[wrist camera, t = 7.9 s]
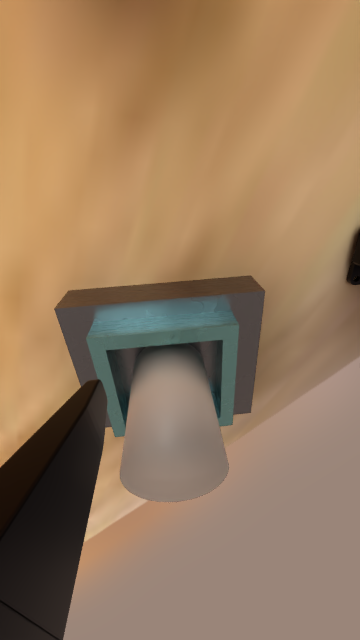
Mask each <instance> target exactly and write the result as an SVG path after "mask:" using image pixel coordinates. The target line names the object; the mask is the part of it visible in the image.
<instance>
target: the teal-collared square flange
mask: <svg viewBox="0 0 360 640" xmlns="http://www.w3.org/2000/svg"><path fill="white" fill-rule="evenodd" d="M264 296H265V290H264V289H263V288H262V287H261V286H260V285H259V284H258V283H257V282H256V281H255V280H254V279H253V277H252V276H242V277H230V278H218V279H205V280H193V281H181V282H169V283H157V284H145V285H133V286H120V287H108V288H96V289H84V290H72V291H68V292H67V293H66V295H65V296H64V297H63V298H62V300H61V301H60V302H59V303H58V305H57V306H56V307H55V308H54V310H55V312H56V315H57V318H58V321H59V324H60V327H61V330H62V333H63V336H64V339H65V341H66V344H67V347H68V350H69V353H70V356H71V359H72V362H73V365H74V367H75V370H76V373H77V376H78V379H79V382H80V385H81V387H82V386H83V385H84V384H85V383H86V382H87V381H89V380H95V379H100V380H101V381H102V383H103V386H104V389H105V392H106V395H107V400H108V404H107V414H106V425H105V427H112V429H113V432H114V435H115V437H121V436H125V430H126V422H127V415H128V407H129V399H130V392H131V384H132V377H133V369H134V363H135V360H136V358H137V356H138V355H139V354H140V352H141V351H142V350H144V349H145V348H146V347H148V346H159V345H170V344H181V343H187V344H189V345H191V346H193V347H194V348H195V349H196V350H197V351H198V352H199V353H200V354H201V356H202V358H203V361H204V365H205V369H206V373H207V377H208V381H209V386H210V390H211V394H212V398H213V402H214V406H215V410H216V414H217V419H218V423H219V426H228V425H232V423H233V415H234V414H243V413H251V406H252V397H253V389H254V380H255V372H256V363H257V355H258V347H259V338H260V330H261V321H262V313H263V304H264Z"/></svg>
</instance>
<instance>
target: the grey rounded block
mask: <svg viewBox="0 0 360 640" xmlns="http://www.w3.org/2000/svg"><path fill="white" fill-rule="evenodd" d="M228 470H229V464H228V460H227V456H226V452H225V447H224V443H223V439H222V435H221V431H220V427H219V423H218V419H217V414H216V410H215V406H214V402H213V398H212V394H211V390H210V386H209V381H208V377H207V373H206V369H205V365H204V361H203V358H202V356H201V354H200V353H199V352H198V351H197V350H196V349H195V348H194V347H193V346H191V345H189V344H187V343H181V344H170V345H159V346H148V347H146V348H145V349H144V350H142V351H141V352H140V354H139V355H138V356H137V358H136V360H135V363H134V369H133V377H132V384H131V392H130V399H129V407H128V415H127V422H126V430H125V437H124V445H123V453H122V460H121V468H120V479H121V482H122V484H123V485H124V487H125V488H126V489H127V490H128V491H129V492H131V493H132V494H134V495H136V496H138V497H140V498H143V499H147V500H151V501H157V502H179V501H185V500H190V499H194V498H197V497H200V496H203V495H205V494H207V493H209V492H210V491H212V490H214V489H215V488H216V487H218V486H219V485H220V484H221V483H222V482H223V481H224V479H225V478H226V476H227V474H228Z"/></svg>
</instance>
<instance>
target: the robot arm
mask: <svg viewBox="0 0 360 640" xmlns="http://www.w3.org/2000/svg"><path fill="white" fill-rule="evenodd" d="M355 277H356V279H354V278H355ZM353 279H354V280H353ZM347 281H348V282H349V283H351V284H352V285H360V234H359V238H358V241H357V245H356V248H355V252H354V255H353V259H352V263H351V266H350V270H349V273H348V277H347ZM107 404H108V400H107V395H106V392H105V389H104V386H103V383H102V381H101V380H100V379H95V380H89V381H87V382H86V383H85V384H84V385H83V386H82V387H81V388H80V389H79V390H78V391H77V392H76V393H75V394H74V395H73V396H72V397H71V398H70V399H69V400H68V401H67V402H66V403H65V404H64V405H63V406H62V407H61V408H60V409H59V410H58V411H57V412H56V413H55V414H54V415H53V416H52V417H51V418H50V419H49V420H48V421H47V422H46V423H45V424H44V425H43V426H42V427H41V428H40V429H38V430H37V431H36V432H35V433H34V434H33V435H32V436H31V437H30V438H29V439H28V440H27V441H26V442H25V443H24V444H23V445H22V446H21V447H20V448H19V449H18V450H17V451H16V452H15V453H14V454H13V455H12V456H11V457H10V458H9V459H8V460H7V461H6V462H5V463H4V464H3V465H2V466H1V467H0V640H63V637H64V632H65V627H66V622H67V618H68V613H69V608H70V603H71V598H72V594H73V589H74V584H75V579H76V574H77V570H78V565H79V561H80V556H81V551H82V546H83V542H84V537H85V532H86V527H87V523H88V518H89V513H90V508H91V503H92V499H93V494H94V489H95V484H96V480H97V475H98V470H99V465H100V461H101V456H102V451H103V444H104V435H105V425H106V414H107Z"/></svg>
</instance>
